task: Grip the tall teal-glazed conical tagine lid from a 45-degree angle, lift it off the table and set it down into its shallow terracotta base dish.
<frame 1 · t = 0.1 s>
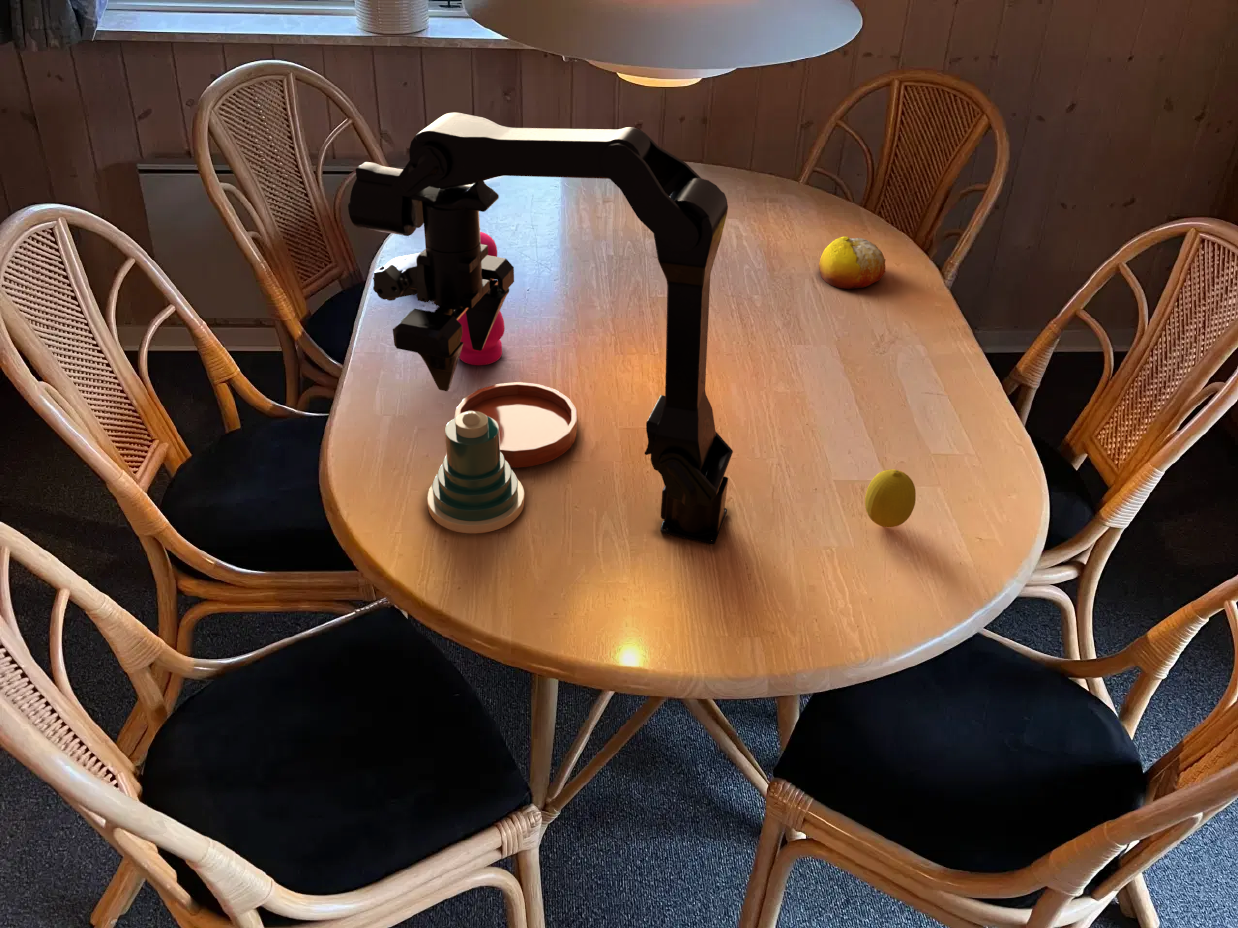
hand: (461, 369, 119), 15 cm above the table, tool pointing down, fingers open, 9 cm apart
lemon: (883, 527, 122), on the table
pepper mill: (480, 355, 150), on the table
tagine lid: (476, 502, 123), on the table
fruit: (850, 279, 173), on the table
tagine base: (516, 431, 135), on the table
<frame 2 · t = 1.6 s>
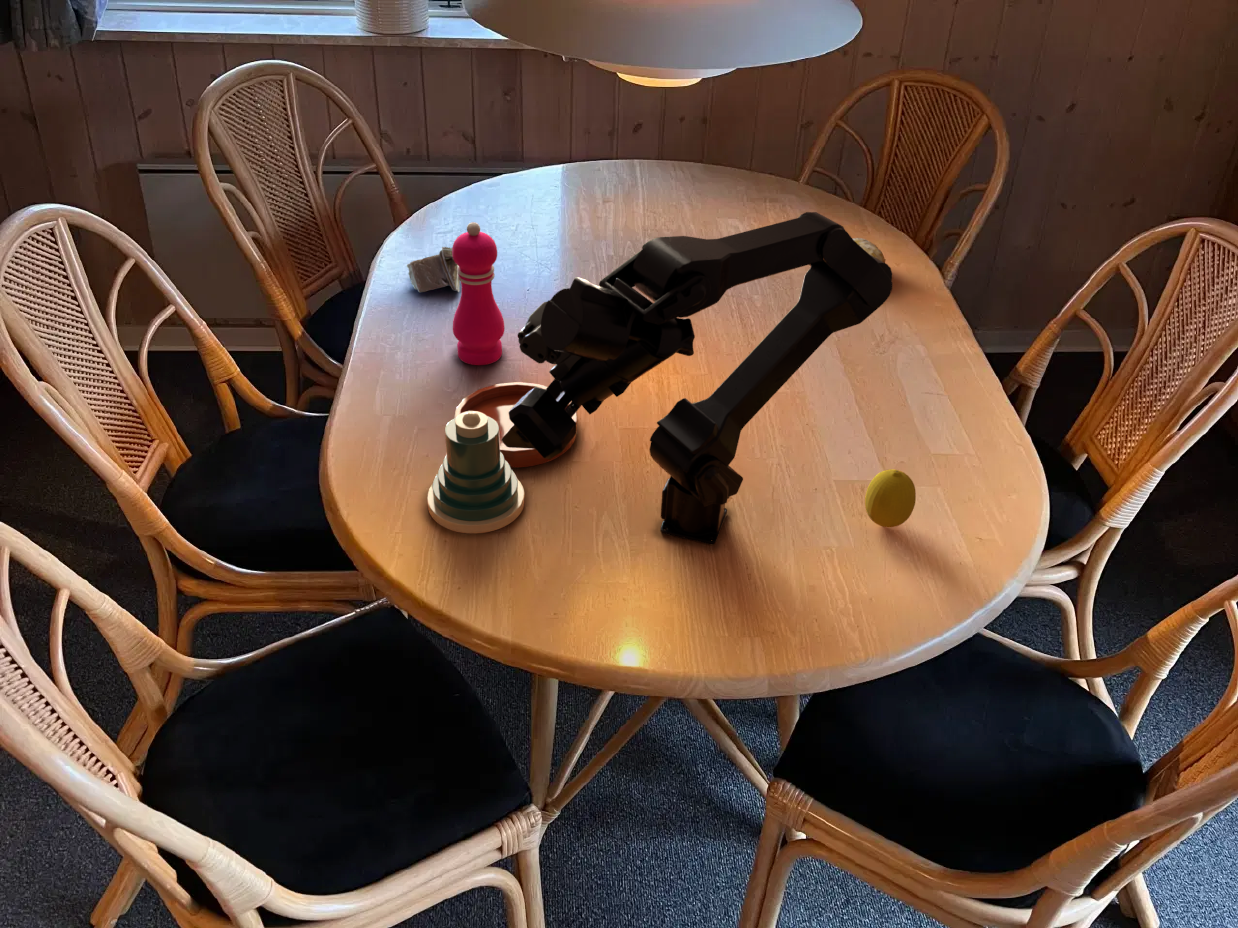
hand: (524, 420, 113), 13 cm above the table, tool tilted 45°, fingers open, 9 cm apart
nothing on the table moved.
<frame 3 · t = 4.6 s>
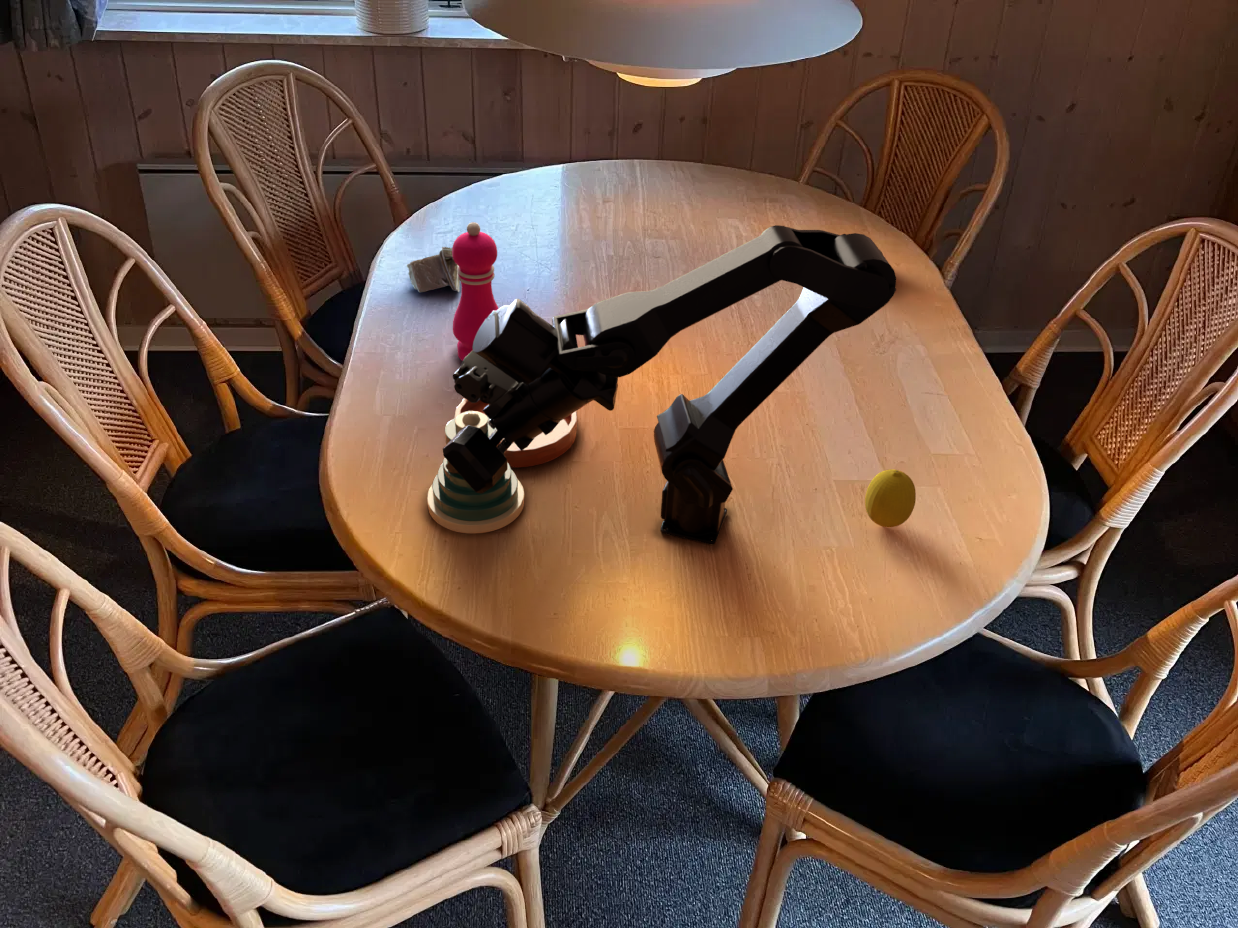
hand: (462, 453, 119), 7 cm above the table, tool tilted 45°, fingers closed on tagine lid, 6 cm apart
tagine lid: (476, 502, 123), on the table, touching gripper
everything else where it was.
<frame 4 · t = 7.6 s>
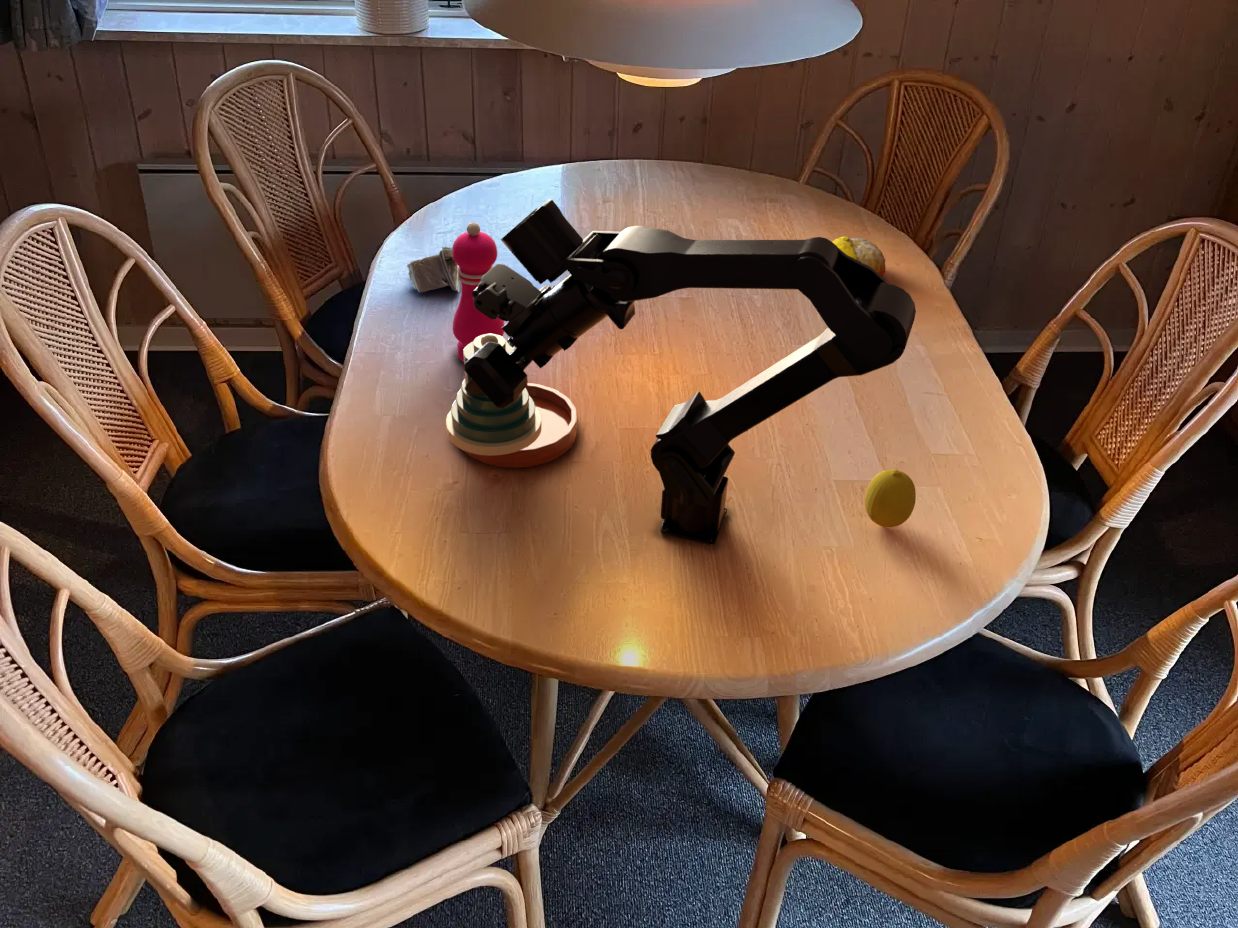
hand: (481, 377, 121), 13 cm above the table, tool tilted 45°, fingers closed on tagine lid, 6 cm apart
tagine lid: (494, 427, 124), point 6 cm above the table, touching gripper
everything else where it was.
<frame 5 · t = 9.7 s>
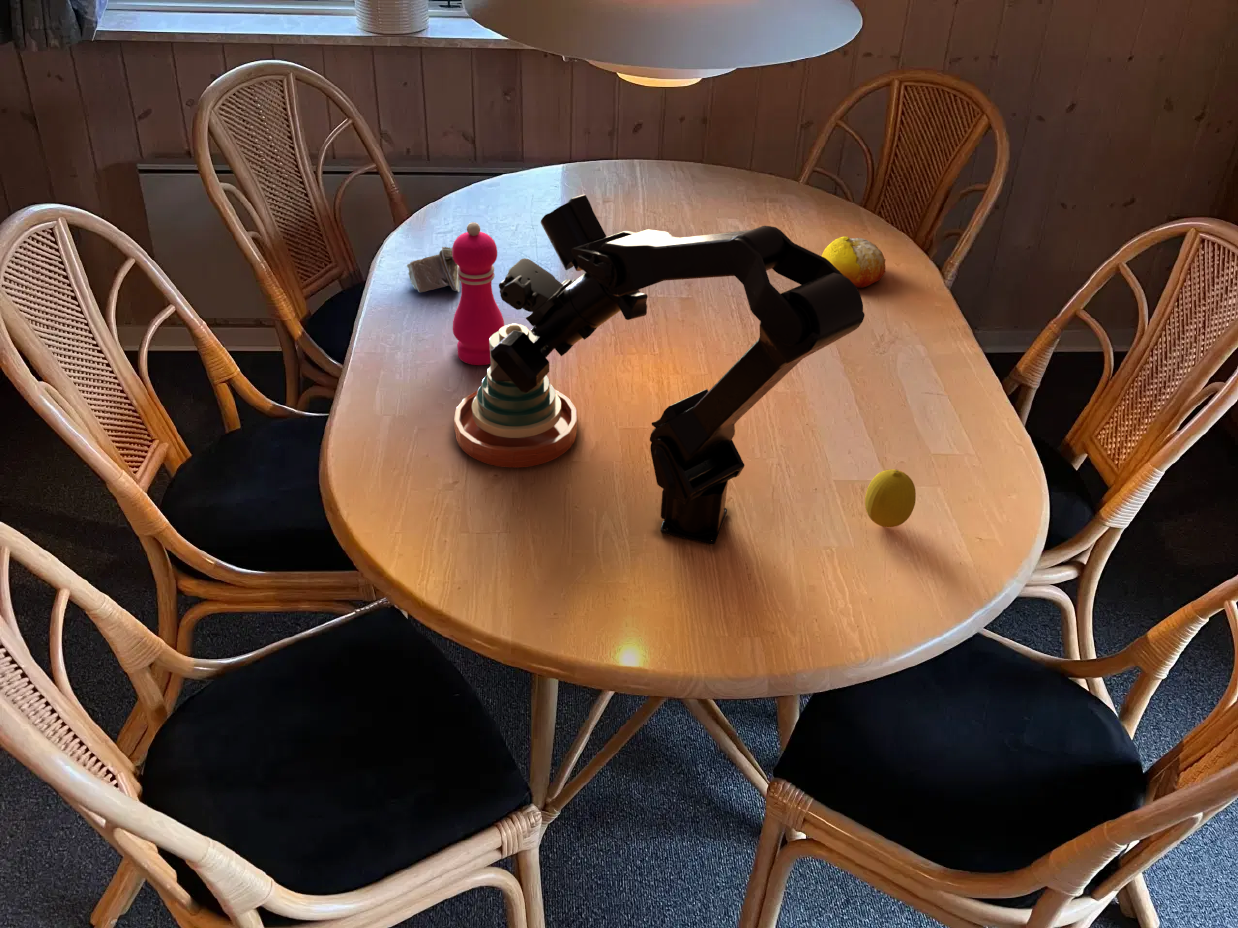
hand: (505, 365, 129), 10 cm above the table, tool tilted 45°, fingers closed on tagine lid, 6 cm apart
tagine lid: (517, 412, 133), point 3 cm above the table, touching gripper
everything else where it was.
when the fingers open (8 cm above the table, at t = 10.9 s): tagine lid stays where it is, resting on tagine base.
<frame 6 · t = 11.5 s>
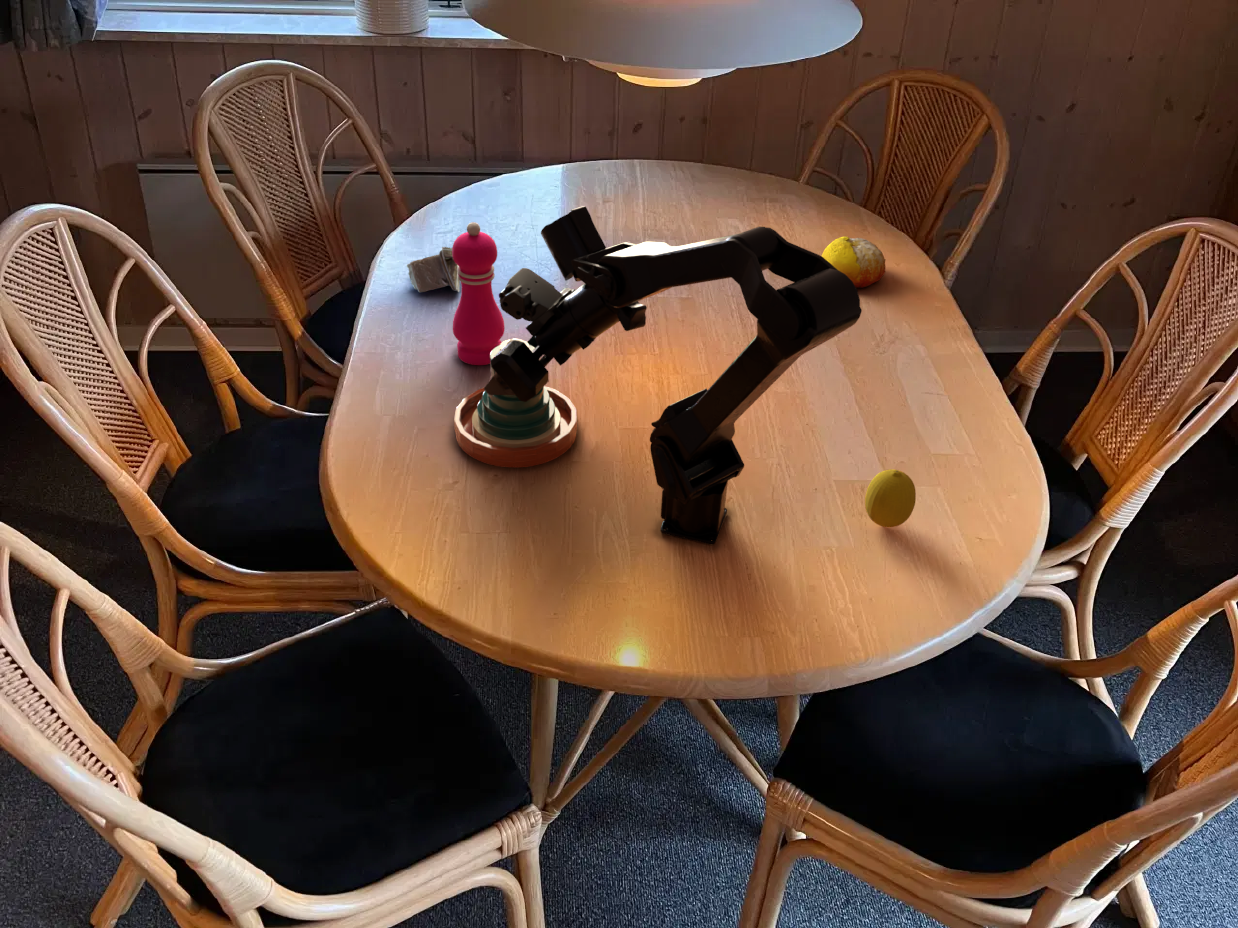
hand: (504, 373, 130), 8 cm above the table, tool tilted 45°, fingers open, 9 cm apart
tagine lid: (516, 425, 134), point 1 cm above the table, touching tagine base
everything else where it was.
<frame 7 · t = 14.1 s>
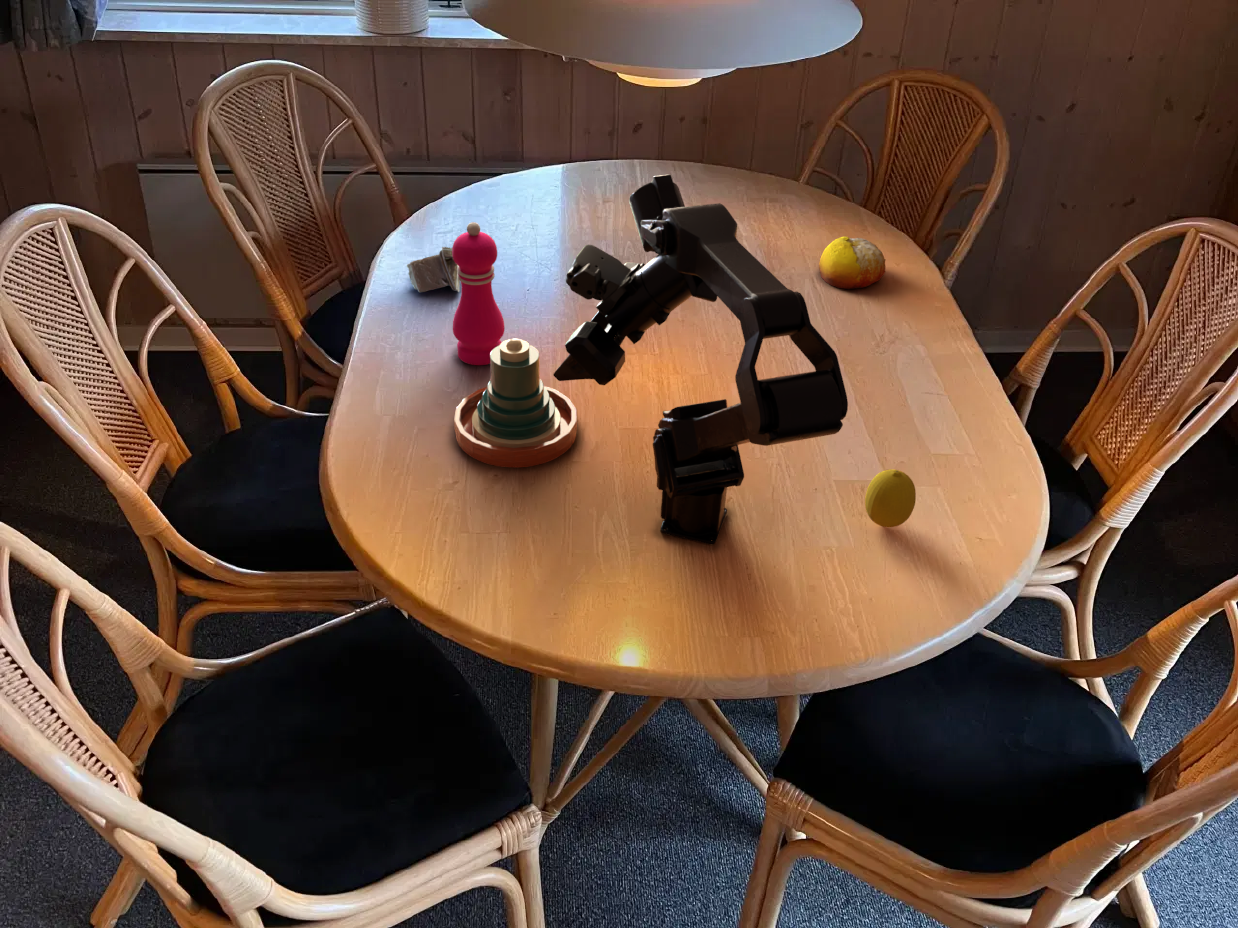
hand: (570, 356, 124), 13 cm above the table, tool tilted 45°, fingers open, 9 cm apart
nothing on the table moved.
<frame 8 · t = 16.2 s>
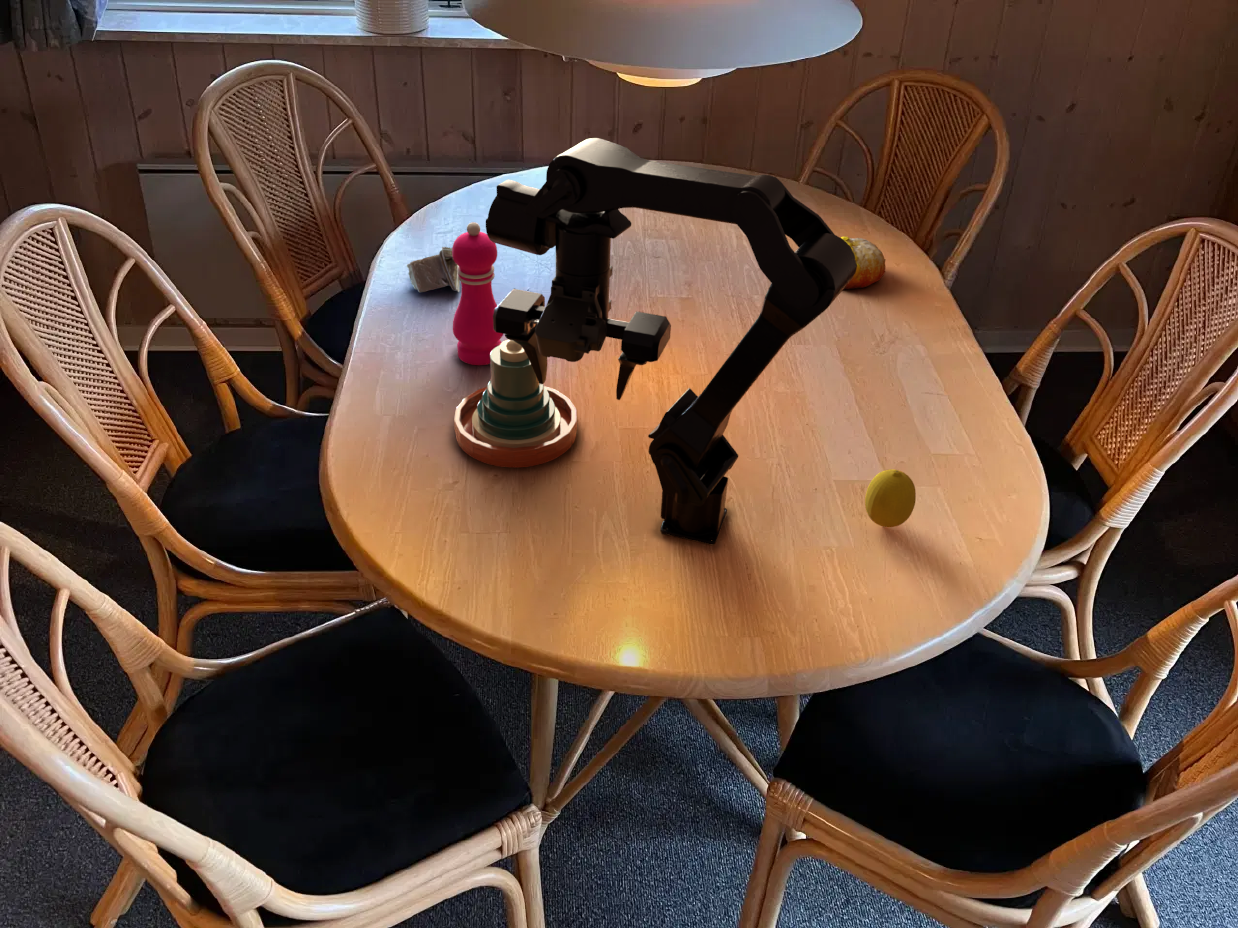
hand: (580, 390, 119), 13 cm above the table, tool pointing down, fingers open, 9 cm apart
nothing on the table moved.
at the end: tagine lid 0.1 cm off-centre in the tagine base, point 1.0 cm above the tagine base's base; tagine lid tilted 0°; the gripper is holding nothing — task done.
